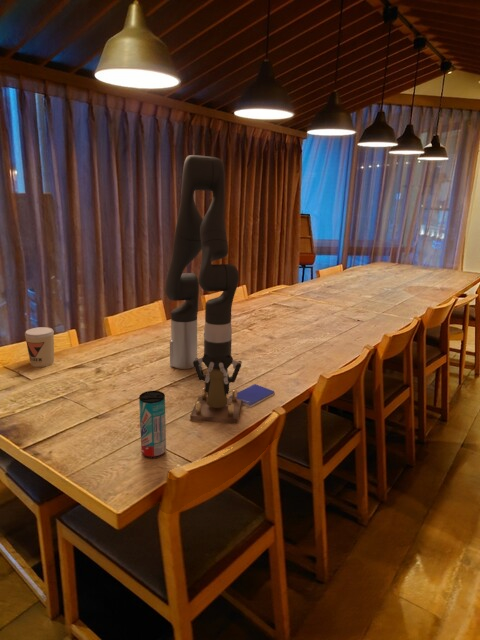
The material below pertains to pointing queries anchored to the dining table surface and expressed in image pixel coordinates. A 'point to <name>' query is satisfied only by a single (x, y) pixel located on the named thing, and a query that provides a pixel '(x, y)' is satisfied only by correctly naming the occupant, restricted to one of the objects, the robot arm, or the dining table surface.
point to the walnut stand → (217, 410)
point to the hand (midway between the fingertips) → (217, 393)
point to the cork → (216, 390)
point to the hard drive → (253, 395)
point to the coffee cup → (40, 346)
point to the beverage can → (152, 424)
